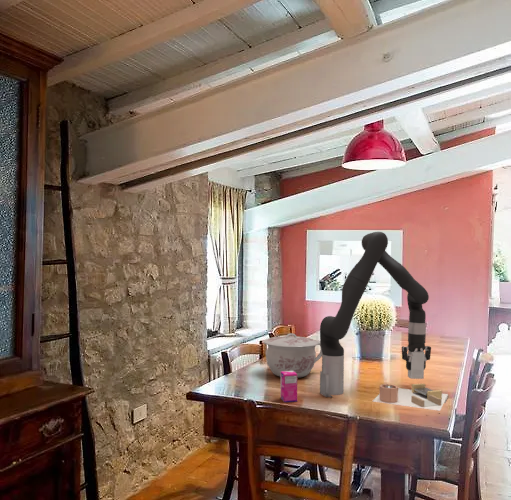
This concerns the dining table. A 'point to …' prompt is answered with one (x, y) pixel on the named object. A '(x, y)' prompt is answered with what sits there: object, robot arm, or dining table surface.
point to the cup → (388, 393)
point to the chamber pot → (291, 354)
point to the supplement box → (288, 386)
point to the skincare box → (416, 365)
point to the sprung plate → (423, 390)
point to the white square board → (419, 398)
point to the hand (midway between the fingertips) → (415, 369)
